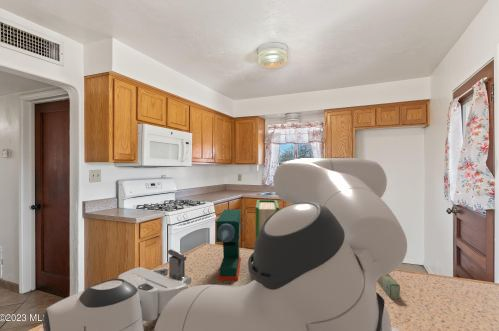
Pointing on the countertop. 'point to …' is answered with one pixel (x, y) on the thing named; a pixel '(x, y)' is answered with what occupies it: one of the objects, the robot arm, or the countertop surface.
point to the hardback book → (264, 212)
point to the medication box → (390, 286)
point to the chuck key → (176, 265)
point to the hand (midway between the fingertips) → (177, 275)
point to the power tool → (229, 243)
